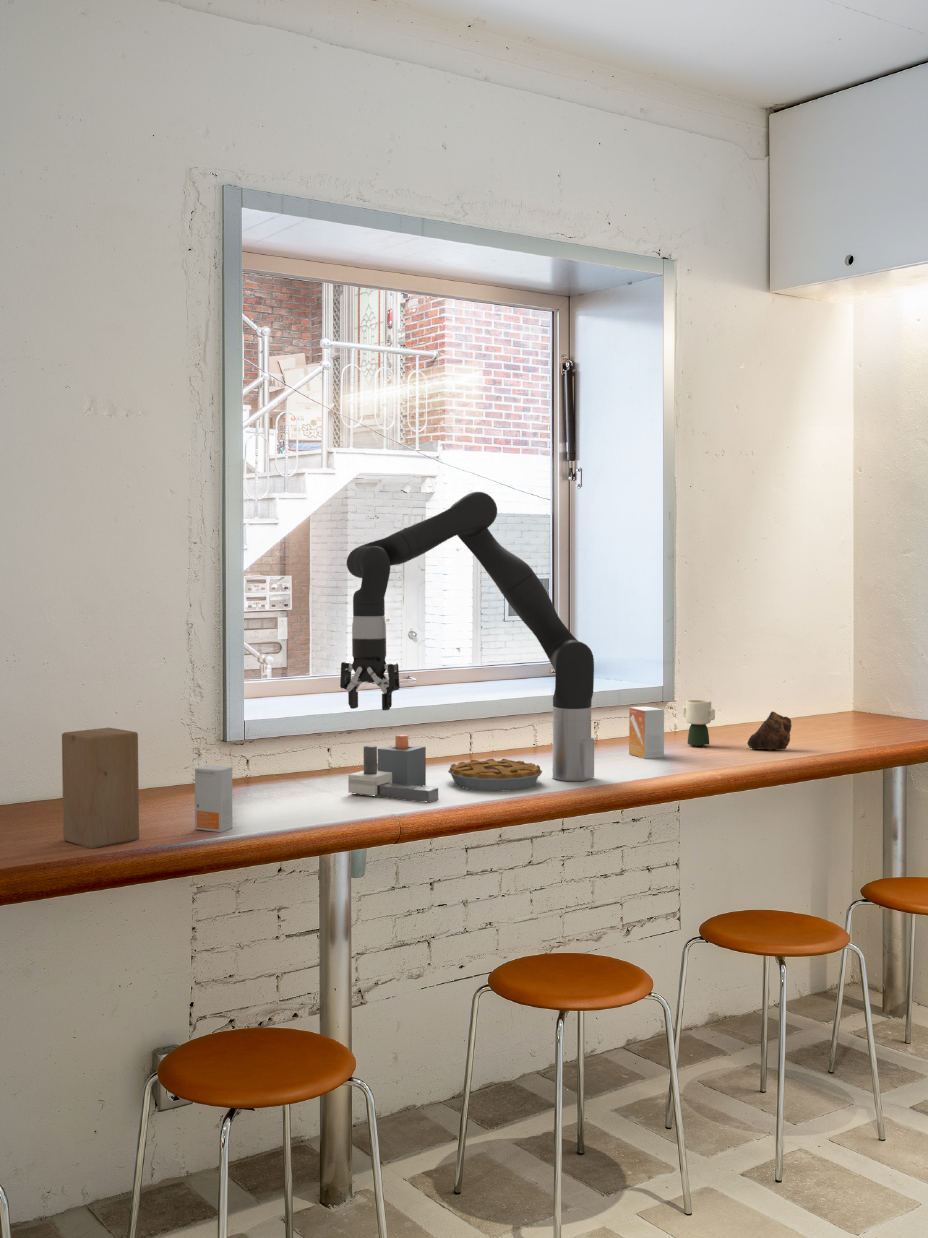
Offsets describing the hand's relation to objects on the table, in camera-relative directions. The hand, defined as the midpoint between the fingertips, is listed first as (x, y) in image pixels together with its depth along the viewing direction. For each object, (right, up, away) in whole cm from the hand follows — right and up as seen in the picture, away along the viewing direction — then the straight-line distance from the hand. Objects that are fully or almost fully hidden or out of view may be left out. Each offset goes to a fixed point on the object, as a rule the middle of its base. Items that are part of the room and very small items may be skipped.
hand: (369, 709), depth 252 cm
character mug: (+88, -17, +72) cm, 115 cm away
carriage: (0, -19, +1) cm, 19 cm away
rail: (+6, -19, -2) cm, 20 cm away
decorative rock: (+107, -17, +65) cm, 126 cm away
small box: (+70, -17, +54) cm, 90 cm away
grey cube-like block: (+7, -19, +10) cm, 22 cm away
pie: (+28, -19, +14) cm, 37 cm away
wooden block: (-46, -21, -43) cm, 67 cm away
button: (+7, -11, +9) cm, 16 cm away
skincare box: (-27, -21, -34) cm, 48 cm away
